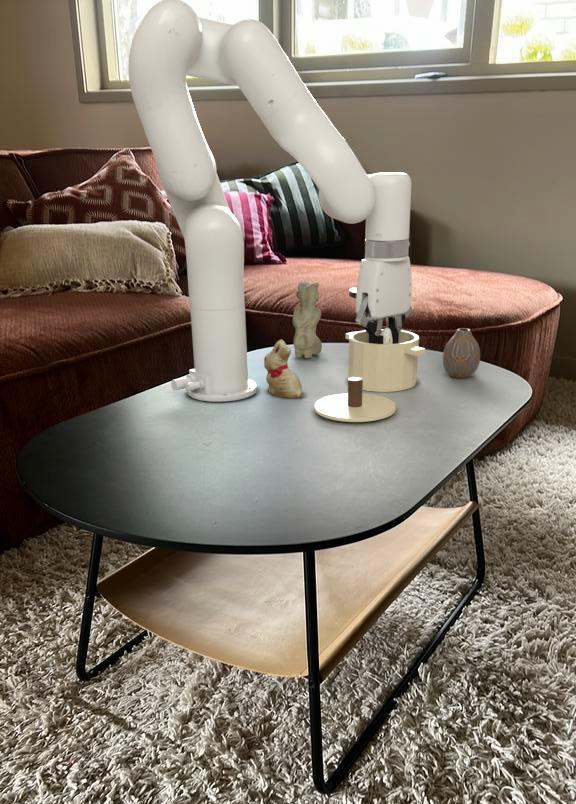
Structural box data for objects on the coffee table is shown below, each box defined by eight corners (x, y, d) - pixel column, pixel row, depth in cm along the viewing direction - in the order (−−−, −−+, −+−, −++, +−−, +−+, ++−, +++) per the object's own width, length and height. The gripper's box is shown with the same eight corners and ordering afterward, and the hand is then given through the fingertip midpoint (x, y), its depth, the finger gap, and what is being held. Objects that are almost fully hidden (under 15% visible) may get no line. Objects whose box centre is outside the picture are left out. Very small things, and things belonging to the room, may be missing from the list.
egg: (379, 351, 143) (380, 324, 140) (394, 353, 141) (396, 326, 139) (371, 355, 140) (372, 328, 138) (387, 357, 139) (388, 329, 136)
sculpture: (327, 353, 163) (327, 281, 156) (312, 361, 157) (312, 287, 150) (302, 351, 165) (301, 279, 158) (287, 358, 159) (286, 285, 153)
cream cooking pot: (393, 399, 133) (395, 351, 129) (325, 378, 146) (325, 334, 142) (441, 385, 140) (444, 339, 136) (372, 366, 153) (373, 323, 149)
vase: (478, 381, 142) (483, 334, 138) (441, 379, 143) (444, 333, 140) (478, 371, 148) (482, 325, 144) (442, 369, 149) (445, 325, 146)
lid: (353, 431, 119) (354, 396, 116) (297, 411, 128) (297, 378, 126) (412, 412, 126) (414, 379, 124) (356, 394, 136) (356, 363, 134)
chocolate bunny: (291, 385, 142) (290, 331, 137) (306, 397, 135) (305, 341, 131) (262, 389, 140) (261, 334, 136) (276, 401, 134) (275, 344, 129)
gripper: (403, 243, 140) (399, 343, 148) (337, 252, 131) (336, 358, 139) (434, 247, 134) (428, 350, 143) (367, 256, 125) (365, 366, 133)
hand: (383, 353), depth 140 cm, fingers closed on egg, 3 cm apart
